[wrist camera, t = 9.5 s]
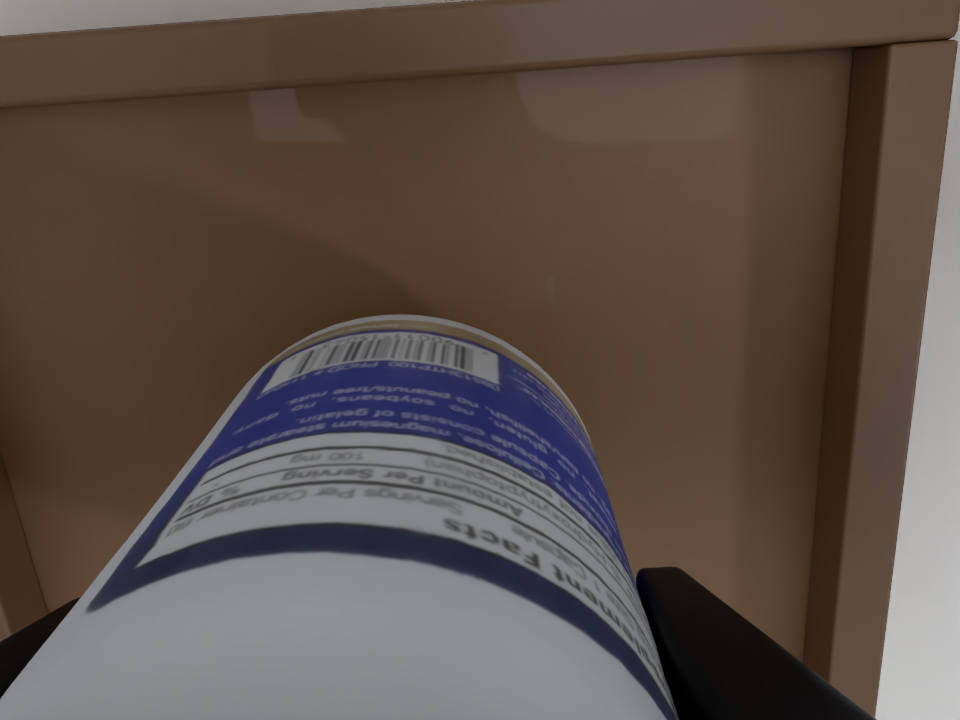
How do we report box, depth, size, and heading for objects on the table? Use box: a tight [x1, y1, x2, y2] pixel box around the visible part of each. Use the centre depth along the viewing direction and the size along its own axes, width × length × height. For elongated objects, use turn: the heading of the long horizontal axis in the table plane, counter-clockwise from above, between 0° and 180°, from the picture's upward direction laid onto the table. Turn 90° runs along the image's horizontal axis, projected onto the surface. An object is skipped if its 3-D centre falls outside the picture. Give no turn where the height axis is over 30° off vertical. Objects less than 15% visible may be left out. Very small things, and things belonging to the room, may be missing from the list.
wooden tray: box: [0, 0, 960, 718], centre depth 13 cm, size 14×12×4 cm
